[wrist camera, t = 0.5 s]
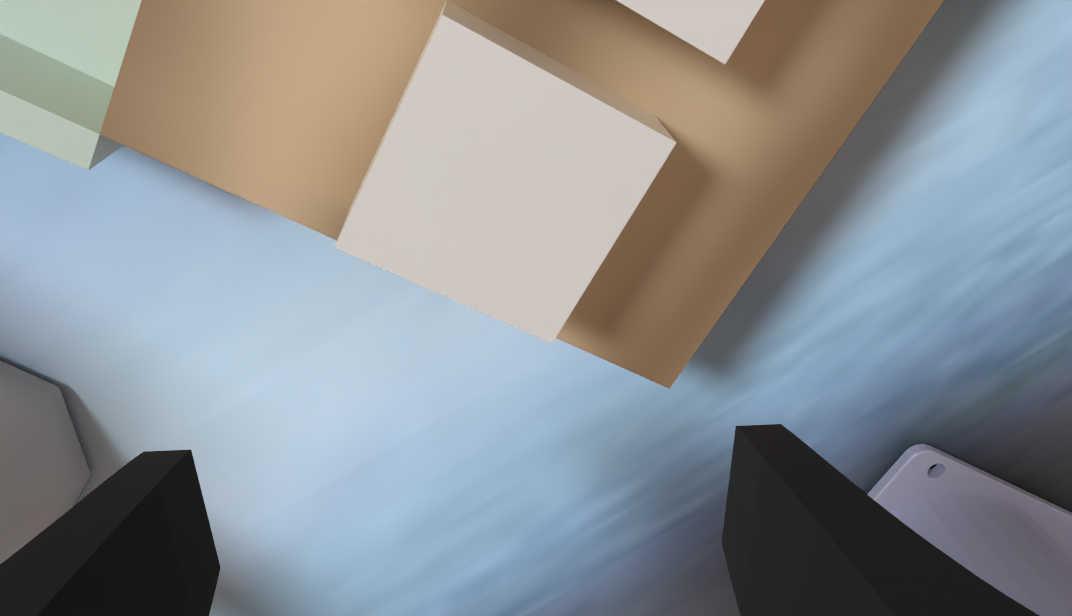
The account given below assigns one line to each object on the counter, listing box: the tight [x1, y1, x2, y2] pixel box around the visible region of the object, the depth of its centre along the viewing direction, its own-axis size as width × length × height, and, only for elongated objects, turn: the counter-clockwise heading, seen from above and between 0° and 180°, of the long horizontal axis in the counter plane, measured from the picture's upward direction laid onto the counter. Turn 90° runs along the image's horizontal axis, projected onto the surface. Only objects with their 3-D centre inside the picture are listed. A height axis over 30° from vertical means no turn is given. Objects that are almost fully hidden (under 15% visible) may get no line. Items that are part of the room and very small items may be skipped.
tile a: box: [335, 0, 677, 343], centre depth 15 cm, size 4×4×2 cm
